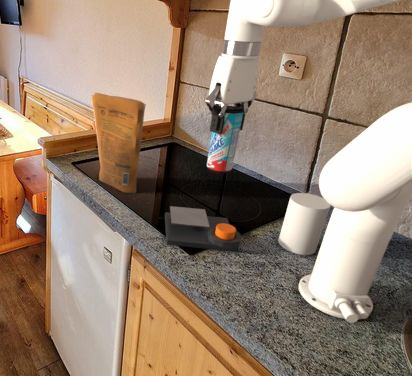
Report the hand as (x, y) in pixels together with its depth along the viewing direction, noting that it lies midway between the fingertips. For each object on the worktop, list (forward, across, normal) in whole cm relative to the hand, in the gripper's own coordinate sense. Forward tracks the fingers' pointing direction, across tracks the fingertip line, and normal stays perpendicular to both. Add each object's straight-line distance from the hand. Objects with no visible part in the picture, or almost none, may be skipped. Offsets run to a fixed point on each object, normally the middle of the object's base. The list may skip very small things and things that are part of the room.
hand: (226, 130), depth 94 cm
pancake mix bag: (+26, +8, -32) cm, 41 cm away
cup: (+26, -12, +17) cm, 33 cm away
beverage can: (+10, 0, 0) cm, 10 cm away
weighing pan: (+22, +6, -2) cm, 23 cm away
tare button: (+23, +4, +9) cm, 25 cm away
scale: (+25, +6, +2) cm, 26 cm away
